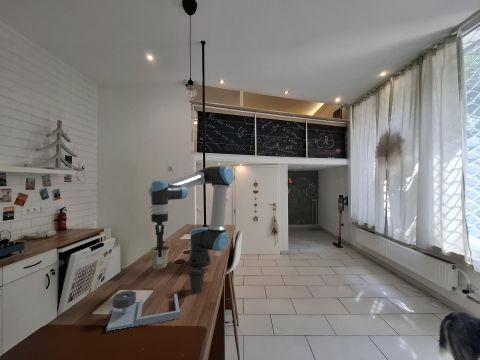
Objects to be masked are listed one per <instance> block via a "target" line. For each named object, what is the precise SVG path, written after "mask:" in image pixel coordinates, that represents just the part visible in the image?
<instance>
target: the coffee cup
mask: <svg viewBox="0 0 480 360" xmlns="http://www.w3.org/2000/svg"><path fill="white" fill-rule="evenodd" d="M205 274H206V271H205V269H203V268H194V269H191V270H189V271H188V275H189V281H190V282H189V283H190V292H191V293H192V294H200V293H202V292H203V288H204V279H205Z"/></svg>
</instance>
